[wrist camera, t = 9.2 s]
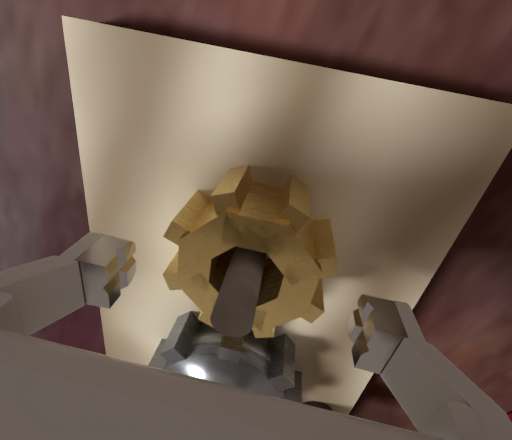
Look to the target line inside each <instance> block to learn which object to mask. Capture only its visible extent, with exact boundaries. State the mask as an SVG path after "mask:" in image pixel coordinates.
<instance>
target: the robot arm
mask: <svg viewBox="0 0 512 440" xmlns="http://www.w3.org/2000/svg"><path fill="white" fill-rule="evenodd" d="M135 252H136V247H135V243H134V242H133V241H130V240H126V239H122V238H118V237H114V236H110V235H105V234H102V233H98V232H89V233H88V234H86V235H85V236H84V237H83V238H81V239H80V240H79V241H77V242H76V243H75V244H74V245H72V246H71V247H70V248H69V249H67V250H66V251H65V252H63V253H62V254H61V255H60V256H50V257H47V258H44V259H40V260H37V261H33V262H30V263H26V264H23V265H19V266H16V267H12V268H9V269H5V270H2V271H0V440H512V422H511V420H510V419H509V417H508V415H507V414H506V412H505V411H504V410H503V409H502V408H501V407H499V406H498V405H497V404H496V403H495V402H494V401H493V400H492V399H491V398H490V397H489V396H487V395H486V394H485V393H484V392H483V391H482V390H481V389H480V388H479V387H478V386H477V385H476V384H474V383H473V382H472V381H471V380H470V379H469V378H468V377H467V376H466V375H465V374H464V373H462V372H461V371H460V370H459V369H458V368H457V367H456V366H455V365H454V364H453V363H452V362H450V361H449V360H448V359H447V358H446V357H445V356H444V355H443V354H442V353H441V352H440V351H438V350H437V349H436V348H435V347H434V346H433V345H432V344H430V343H426V341H425V338H424V336H423V334H422V332H421V330H420V327H419V325H418V323H417V321H416V318H415V316H414V314H413V312H412V310H411V307H410V305H408V304H407V303H404V302H399V301H394V300H388V299H383V298H379V297H374V296H370V295H365V294H362V295H361V296H360V297H359V299H358V301H357V304H358V309H356V310H354V311H353V312H352V314H351V317H350V320H349V326H348V332H349V339H350V340H351V341H352V342H353V343H354V345H353V347H352V349H351V351H352V357H353V362H354V368H358V369H362V370H365V371H369V372H373V373H376V374H380V376H381V378H382V379H383V381H384V382H385V384H386V385H387V387H388V388H389V389H390V391H391V392H392V394H393V395H394V397H395V398H396V400H397V401H398V403H399V404H400V405H401V407H402V408H403V410H404V411H405V413H406V414H407V416H408V417H409V419H410V420H411V421H412V423H413V424H414V426H415V427H416V429H417V430H418V432H415V431H411V430H407V429H403V428H399V427H395V426H391V425H386V424H382V423H378V422H374V421H370V420H366V419H362V418H358V417H354V416H350V415H346V414H342V413H338V412H334V411H330V410H326V409H322V408H318V407H314V406H310V405H306V404H301V403H297V402H293V401H289V400H285V399H281V398H277V397H273V396H269V395H265V394H261V393H257V392H253V391H249V390H245V389H241V388H237V387H233V386H229V385H225V384H220V383H216V382H212V381H208V380H204V379H200V378H196V377H192V376H188V375H184V374H180V373H176V372H172V371H168V370H164V369H160V368H156V367H152V366H148V365H144V364H140V363H136V362H131V361H127V360H123V359H119V358H115V357H111V356H107V355H103V354H99V353H95V352H91V351H87V350H83V349H79V348H75V347H71V346H67V345H63V344H59V343H55V342H51V341H46V340H42V339H38V338H34V337H30V336H29V335H31V334H33V333H35V332H37V331H38V330H40V329H42V328H44V327H46V326H48V325H50V324H51V323H53V322H55V321H57V320H59V319H61V318H62V317H64V316H66V315H68V314H70V313H72V312H73V311H75V310H77V309H79V308H81V307H83V306H84V305H85V304H89V305H94V306H98V307H103V308H108V309H110V308H111V307H112V305H113V304H114V303H115V302H116V300H117V299H118V298H119V297H120V295H121V291H120V289H123V288H125V287H127V286H128V285H129V284H130V283H131V281H132V279H133V277H134V275H135V272H136V260H135V259H134V257H133V256H132V255H133V254H134V253H135Z"/></svg>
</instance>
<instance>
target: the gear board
mask: <svg viewBox="0 0 512 440" xmlns="http://www.w3.org/2000/svg"><path fill="white" fill-rule="evenodd" d="M62 23H63V30H64V38H65V46H66V53H67V61H68V68H69V76H70V84H71V91H72V99H73V106H74V114H75V122H76V129H77V137H78V144H79V152H80V160H81V167H82V175H83V182H84V190H85V198H86V205H87V213H88V221H89V228H90V232H98V233H102V234H105V235H110V236H114V237H118V238H122V239H126V240H130V241H133V242H134V243H135V247H136V252H135V253H134V254H133V255H132V256H133V257H134V259H135V260H136V272H135V275H134V277H133V279H132V281H131V283H130V284H129V285H128V286H127V287H125V288H123V289H120V291H121V295H120V297H119V298H118V299H117V300H116V302H115V303H114V304H113V305H112V307H111V308H110V309H108V308H103V307H100V312H101V319H102V327H103V335H104V342H105V350H106V355H107V356H111V357H115V358H119V359H123V360H127V361H131V362H136V363H140V364H144V365H149V363H150V361H151V359H152V357H153V355H154V353H155V351H156V349H157V347H158V345H159V343H160V341H161V339H166V340H167V338H168V336H169V333H170V331H171V329H172V327H173V325H174V323H175V321H176V319H177V317H178V316H181V315H183V314H185V313H187V312H189V311H191V312H192V313H193V314H194V315H195V316H196V317H197V318H198V317H199V315H200V312H201V310H200V309H199V308H198V307H197V305H196V304H195V303H194V302H193V301H192V300H191V299H190V298H189V297H188V296H187V295H186V294H185V293H184V292H183V291H182V290H169V288H168V286H167V283H166V281H165V279H164V277H163V275H162V274H163V273H164V271H165V270H166V268H167V267H168V265H169V264H170V262H171V261H172V259H173V258H174V256H175V255H176V253H177V252H178V250H179V246H178V245H176V244H175V243H173V242H171V241H170V240H168V239H166V238H164V237H163V236H164V234H165V232H166V230H167V229H168V227H169V225H170V223H171V221H172V220H173V219H174V218H175V216H176V215H177V214H178V213H179V212H180V210H181V209H182V208H183V207H184V206H185V204H186V203H187V202H188V201H189V200H190V198H191V197H192V196H193V195H194V194H195V192H196V191H197V190H199V191H201V192H202V193H204V194H205V195H207V196H209V197H210V198H211V194H212V193H213V191H214V190H215V189H216V187H217V186H218V184H219V183H220V181H221V180H222V178H223V177H224V176H225V174H226V173H227V171H228V170H229V168H234V167H240V166H245V165H249V168H250V173H251V177H252V181H253V182H257V183H262V184H266V185H271V186H276V187H280V188H282V187H283V185H284V184H285V183H286V181H287V180H288V179H289V177H290V176H291V175H294V176H295V177H297V178H298V179H300V180H301V181H303V182H304V183H306V184H307V185H308V189H309V211H310V217H311V219H312V220H313V221H314V220H322V219H330V222H331V228H332V234H333V239H334V245H335V251H336V257H337V265H338V273H339V276H338V277H326V278H322V289H323V300H324V313H323V314H322V315H321V316H319V317H318V318H317V319H316V320H315V321H314V322H313V323H309V322H308V321H306V320H304V319H303V318H301V317H300V318H297V319H295V320H292V321H289V322H287V323H284V324H281V325H279V326H276V327H275V331H274V337H277V336H279V335H282V334H285V333H286V334H287V335H288V337H289V338H290V339H291V340H292V341H293V343H294V344H295V371H299V372H302V404H306V405H310V406H314V407H318V408H322V409H326V410H330V411H334V412H338V413H342V414H346V415H349V413H350V411H351V410H352V408H353V406H354V405H355V403H356V402H357V400H358V398H359V397H360V395H361V393H362V392H363V390H364V388H365V387H366V385H367V384H368V382H369V380H370V379H371V377H372V375H373V374H374V373H373V372H369V371H365V370H362V369H358V368H354V362H353V357H352V351H351V349H352V347H353V345H354V343H353V342H352V341H351V340H350V339H349V332H348V326H349V320H350V317H351V314H352V312H353V311H354V310H356V309H358V304H357V301H358V299H359V297H360V296H361V295H362V294H365V295H370V296H374V297H379V298H383V299H388V300H394V301H399V302H404V303H407V304H408V305H410V307H411V310H413V308H414V307H415V305H416V303H417V302H418V300H419V298H420V297H421V295H422V294H423V292H424V290H425V289H426V287H427V285H428V284H429V282H430V280H431V279H432V277H433V276H434V274H435V272H436V271H437V269H438V267H439V266H440V264H441V262H442V261H443V259H444V258H445V256H446V254H447V253H448V251H449V249H450V248H451V246H452V244H453V243H454V241H455V240H456V238H457V236H458V235H459V233H460V231H461V230H462V228H463V226H464V225H465V223H466V222H467V220H468V218H469V217H470V215H471V213H472V212H473V210H474V208H475V207H476V205H477V204H478V202H479V200H480V199H481V197H482V195H483V194H484V192H485V190H486V189H487V187H488V186H489V184H490V182H491V181H492V179H493V177H494V176H495V174H496V172H497V171H498V169H499V168H500V166H501V164H502V163H503V161H504V159H505V158H506V156H507V154H508V153H509V151H510V150H511V148H512V104H508V103H503V102H498V101H493V100H488V99H483V98H478V97H473V96H468V95H463V94H458V93H452V92H447V91H442V90H437V89H432V88H427V87H422V86H417V85H412V84H407V83H402V82H397V81H391V80H386V79H381V78H376V77H371V76H366V75H361V74H356V73H351V72H346V71H341V70H336V69H331V68H325V67H320V66H315V65H310V64H305V63H300V62H295V61H290V60H285V59H280V58H275V57H270V56H264V55H259V54H254V53H249V52H244V51H239V50H234V49H229V48H224V47H219V46H214V45H209V44H203V43H198V42H193V41H188V40H183V39H178V38H173V37H168V36H163V35H158V34H153V33H148V32H143V31H137V30H132V29H127V28H122V27H117V26H112V25H107V24H102V23H97V22H92V21H87V20H82V19H76V18H71V17H66V16H62ZM234 248H235V250H234V253H233V256H232V258H231V261H230V264H229V267H228V269H227V272H226V275H225V278H224V280H223V283H222V286H221V289H220V291H219V294H218V297H217V299H216V302H215V305H214V308H213V310H212V313H211V316H210V321H211V324H212V326H213V327H214V329H215V330H216V331H218V332H219V333H221V334H223V335H225V336H228V337H242V336H245V335H247V334H248V333H250V331H251V330H252V327H253V322H254V317H255V312H256V306H257V301H258V296H259V291H260V285H261V280H262V275H263V270H264V264H265V260H267V259H269V258H270V257H269V256H268V254H267V253H263V252H259V251H254V250H250V249H246V248H241V247H237V246H235V247H234ZM274 337H271V338H274Z"/></svg>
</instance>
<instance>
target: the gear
mask: <svg viewBox="0 0 512 440" xmlns="http://www.w3.org/2000/svg"><path fill="white" fill-rule="evenodd" d="M148 366H152V367H156V368H160V369H164V370H168V371H172V372H176V373H180V374H184V375H188V376H192V377H196V378H200V379H204V380H208V381H212V382H216V383H220V384H225V385H229V386H233V387H237V388H241V389H245V390H249V391H253V392H257V393H261V394H265V395H269V396H273V397H277V398H281V399H285V400H289V401H293V402H297V403H301V404H302V372H299V371H295V344H294V343H293V341H292V340H291V339H290V338H289V337H288V335H287V334H286V333H285V334H282V335H279V336H277V337H274V338H271V337H267V338H255V336H254V333H253V330H251V331H250V333H248V334H247V335H245V336H242V337H228V336H225V335H223V334H221V333H219V332H218V331H216V330H215V329H214V328H213V327H211V326H209V325H207V324H206V323H204V322H202V321H200V320H198V318H197V317H196V316H195V315H194V314H193V313H192V312H191V311H189V312H187V313H185V314H183V315H181V316H178V317H177V319H176V321H175V323H174V325H173V327H172V329H171V331H170V333H169V336H168V338H167V340H166V339H161V341H160V343H159V345H158V347H157V349H156V351H155V353H154V355H153V357H152V359H151V361H150V363H149V365H148Z"/></svg>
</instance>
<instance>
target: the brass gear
mask: <svg viewBox="0 0 512 440" xmlns="http://www.w3.org/2000/svg"><path fill="white" fill-rule="evenodd" d="M163 237H164V238H166V239H168V240H170V241H171V242H173V243H175V244H176V245H178V246H179V250H178V252H177V253H176V255H175V256H174V258H173V259H172V261H171V262H170V264H169V265H168V267H167V268H166V270H165V271H164V273H163V274H162V275H163V277H164V279H165V281H166V283H167V286H168V288H169V290H182V291H183V292H184V293H185V294H186V295H187V296H188V297H189V298H190V299H191V300H192V301H193V302H194V303H195V304H196V305H197V307H198V308H199V309H200V310H201V312H200V315H199V317H198V320H200V321H202V322H204V323H206V324H207V325H209V326H211V327H213V326H212V324H211V321H210V316H211V313H212V310H213V308H214V305H215V302H216V299H217V297H218V294H219V291H220V289H221V286H222V283H223V280H224V278H225V275H226V272H227V269H228V267H229V264H230V261H231V258H232V256H233V253H234V250H235V248H234V247H235V246H237V247H241V248H246V249H250V250H254V251H259V252H263V253H267V254H268V256H269V257H270V258H269V259H267V260H265V264H264V270H263V275H262V280H261V285H260V291H259V296H258V301H257V306H256V312H255V317H254V322H253V327H252V330H253V333H254V336H255V338H267V337H274V331H275V327H276V326H279V325H281V324H284V323H287V322H289V321H292V320H295V319H297V318H300V317H301V318H303V319H304V320H306V321H308V322H309V323H313V322H314V321H315V320H316V319H317V318H318V317H319V316H321V315H322V314H323V313H324V300H323V289H322V278H326V277H338V276H339V273H338V265H337V257H336V251H335V245H334V239H333V234H332V228H331V222H330V219H322V220H314V221H313V220H312V219H311V217H310V211H309V189H308V185H307V184H306V183H304V182H303V181H301V180H300V179H298V178H297V177H295V176H294V175H291V176H290V177H289V179H288V180H287V181H286V183H285V184H284V185H283V187H282V188H280V187H276V186H271V185H266V184H262V183H257V182H253V181H252V177H251V173H250V168H249V165H245V166H240V167H234V168H229V170H228V171H227V173H226V174H225V176H224V177H223V178H222V180H221V181H220V183H219V184H218V186H217V187H216V189H215V190H214V191H213V193H212V194H211V198H210V197H209V196H207V195H205V194H204V193H202V192H201V191H199V190H197V191H196V192H195V194H194V195H193V196H192V197H191V198H190V200H189V201H188V202H187V203H186V204H185V206H184V207H183V208H182V209H181V210H180V212H179V213H178V214H177V215H176V216H175V218H174V219H173V220H172V221H171V223H170V225H169V227H168V229H167V230H166V232H165V234H164V236H163ZM213 328H214V327H213Z"/></svg>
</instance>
